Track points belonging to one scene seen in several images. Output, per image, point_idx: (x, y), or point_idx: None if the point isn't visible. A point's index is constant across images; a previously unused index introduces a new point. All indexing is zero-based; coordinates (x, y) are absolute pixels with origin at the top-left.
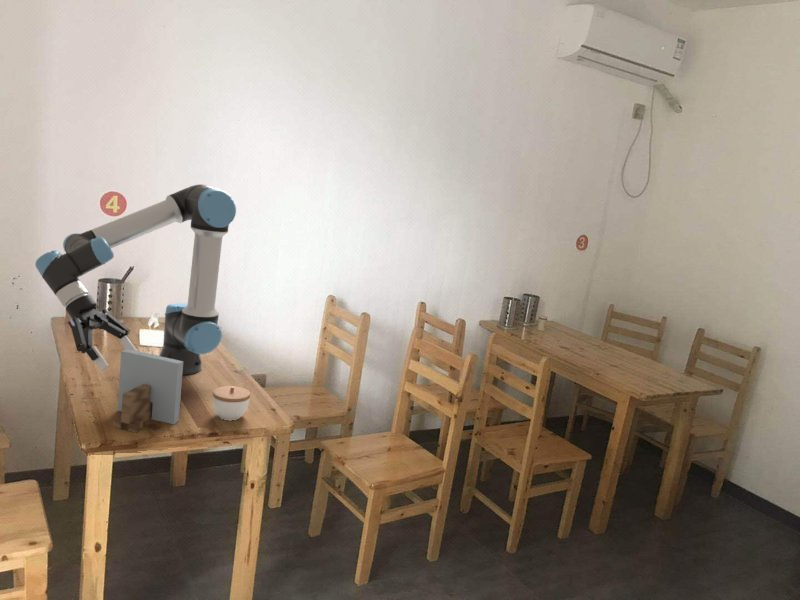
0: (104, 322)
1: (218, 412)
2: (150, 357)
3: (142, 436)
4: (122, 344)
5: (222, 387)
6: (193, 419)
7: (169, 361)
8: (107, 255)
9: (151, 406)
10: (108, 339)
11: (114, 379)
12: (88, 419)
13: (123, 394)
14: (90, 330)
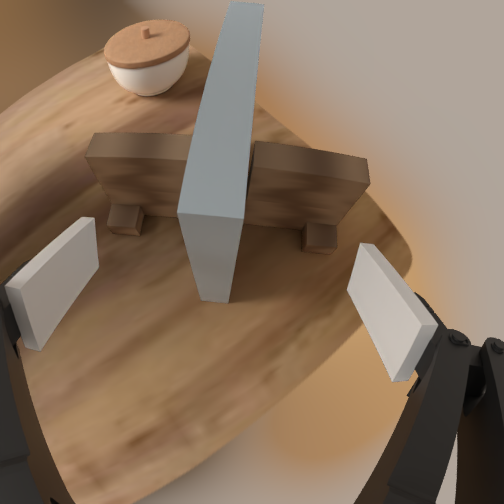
0: (50, 502)
1: (181, 75)
2: (257, 66)
3: None
4: (54, 321)
5: (122, 55)
6: (195, 123)
7: (259, 19)
8: None
9: None
10: None
11: None
12: (321, 337)
13: (369, 181)
14: (420, 466)
